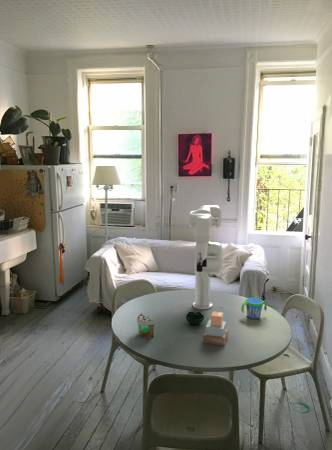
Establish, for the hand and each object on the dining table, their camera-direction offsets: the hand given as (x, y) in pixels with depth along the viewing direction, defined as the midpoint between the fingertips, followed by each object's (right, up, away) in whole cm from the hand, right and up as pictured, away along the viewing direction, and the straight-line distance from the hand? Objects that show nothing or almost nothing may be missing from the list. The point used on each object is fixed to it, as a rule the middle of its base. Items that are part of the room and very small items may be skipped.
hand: (201, 269), depth 214 cm
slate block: (+6, -32, -11) cm, 34 cm away
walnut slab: (+6, -36, -10) cm, 38 cm away
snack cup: (+33, -31, +18) cm, 48 cm away
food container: (-32, -35, -6) cm, 48 cm away
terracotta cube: (+7, -27, -12) cm, 31 cm away
